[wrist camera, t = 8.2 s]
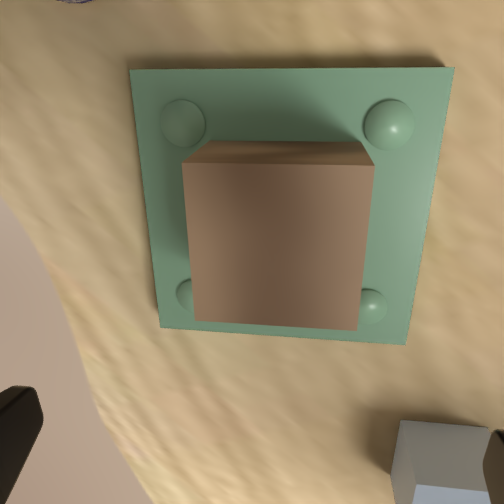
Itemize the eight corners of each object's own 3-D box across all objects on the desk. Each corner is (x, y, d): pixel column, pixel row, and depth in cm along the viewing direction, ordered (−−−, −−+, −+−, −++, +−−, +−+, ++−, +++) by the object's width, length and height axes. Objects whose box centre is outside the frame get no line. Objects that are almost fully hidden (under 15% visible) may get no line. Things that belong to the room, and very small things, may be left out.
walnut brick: (361, 141, 16) (374, 165, 13) (348, 278, 19) (356, 331, 15) (209, 140, 17) (181, 162, 13) (216, 272, 19) (194, 320, 16)
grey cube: (486, 425, 23) (519, 495, 19) (469, 482, 24) (496, 555, 21) (400, 418, 23) (416, 484, 20) (390, 474, 25) (403, 543, 21)
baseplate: (446, 66, 16) (456, 67, 15) (401, 332, 21) (406, 347, 20) (138, 69, 17) (127, 69, 16) (166, 316, 22) (159, 329, 21)
